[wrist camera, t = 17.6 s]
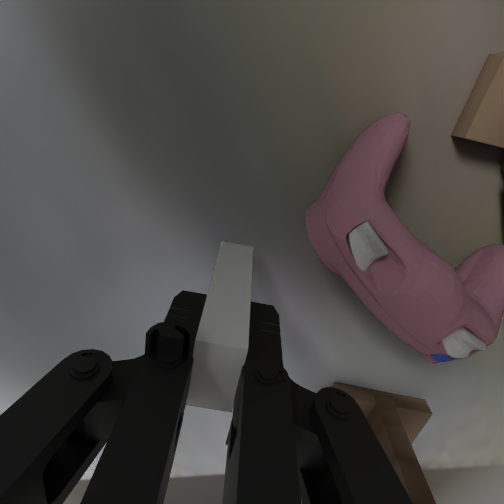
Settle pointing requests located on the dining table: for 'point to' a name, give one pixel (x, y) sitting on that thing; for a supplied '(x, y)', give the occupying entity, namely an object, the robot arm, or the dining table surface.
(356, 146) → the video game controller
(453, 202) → the dining table surface
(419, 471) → the brown bent pieces
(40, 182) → the dining table surface
